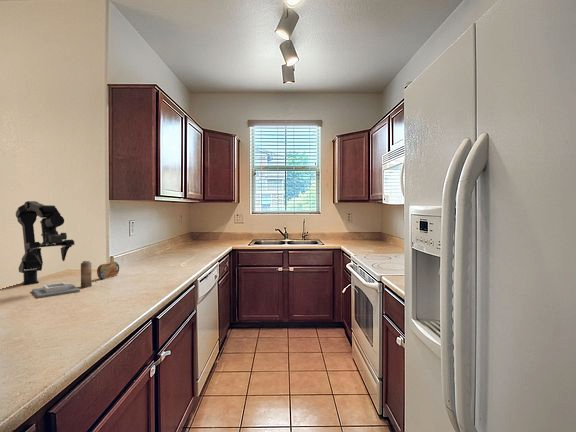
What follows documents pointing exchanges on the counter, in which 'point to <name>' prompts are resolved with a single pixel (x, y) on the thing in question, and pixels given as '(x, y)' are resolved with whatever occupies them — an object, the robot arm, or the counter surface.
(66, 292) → the grey square frame plate
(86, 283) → the mill
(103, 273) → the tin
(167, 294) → the counter surface
